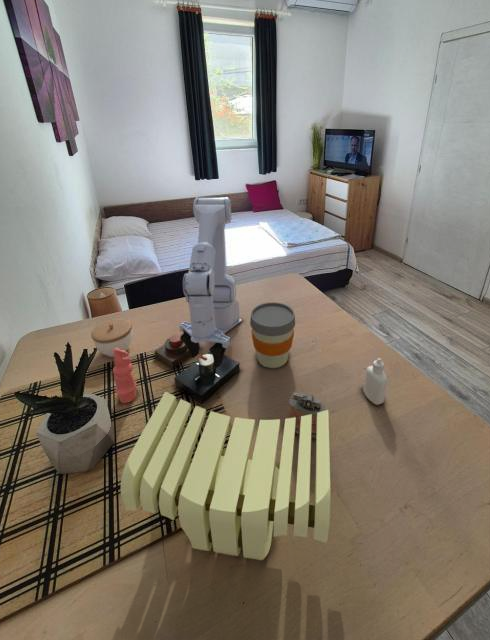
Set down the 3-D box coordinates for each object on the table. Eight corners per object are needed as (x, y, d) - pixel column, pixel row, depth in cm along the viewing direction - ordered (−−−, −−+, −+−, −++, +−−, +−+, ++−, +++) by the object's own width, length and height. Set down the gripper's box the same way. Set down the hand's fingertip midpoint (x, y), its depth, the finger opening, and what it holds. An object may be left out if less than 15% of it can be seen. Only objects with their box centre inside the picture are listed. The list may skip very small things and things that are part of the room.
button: (177, 337, 98) (176, 332, 97) (185, 342, 96) (184, 337, 95) (167, 343, 95) (166, 339, 94) (175, 348, 93) (174, 343, 92)
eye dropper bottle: (379, 388, 84) (386, 351, 79) (384, 406, 79) (391, 368, 74) (362, 387, 84) (368, 350, 80) (365, 404, 79) (372, 366, 75)
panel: (214, 356, 95) (213, 348, 94) (239, 371, 90) (239, 362, 88) (175, 386, 85) (174, 377, 83) (202, 405, 79) (201, 395, 78)
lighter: (325, 428, 73) (328, 395, 69) (322, 441, 70) (325, 407, 66) (290, 418, 76) (291, 385, 72) (286, 430, 73) (287, 397, 69)
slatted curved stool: (137, 548, 53) (116, 478, 46) (176, 455, 67) (165, 391, 60) (322, 581, 49) (331, 510, 42) (322, 475, 64) (328, 409, 57)
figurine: (143, 389, 84) (133, 342, 78) (133, 405, 79) (122, 356, 73) (124, 387, 84) (113, 340, 78) (113, 403, 80) (100, 355, 74)
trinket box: (117, 366, 92) (111, 338, 88) (88, 357, 95) (80, 331, 91) (143, 342, 101) (138, 317, 97) (115, 335, 104) (109, 311, 100)
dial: (219, 367, 87) (218, 356, 85) (208, 378, 83) (207, 366, 82) (206, 362, 89) (205, 350, 87) (195, 372, 85) (194, 360, 84)
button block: (182, 339, 103) (180, 328, 101) (199, 349, 98) (198, 338, 97) (155, 356, 95) (153, 345, 93) (173, 368, 91) (171, 356, 89)
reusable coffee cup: (243, 365, 92) (241, 321, 86) (261, 339, 102) (261, 298, 96) (285, 377, 87) (286, 332, 81) (299, 349, 98) (301, 307, 92)
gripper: (168, 316, 79) (174, 360, 84) (216, 333, 73) (220, 379, 78) (187, 302, 85) (192, 344, 90) (234, 317, 79) (236, 361, 84)
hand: (206, 360), depth 85 cm, fingers open, 7 cm apart
